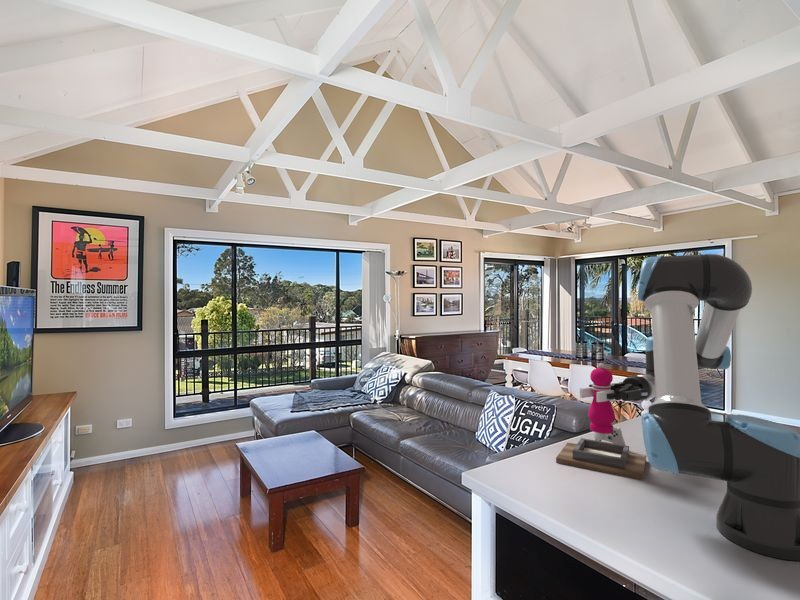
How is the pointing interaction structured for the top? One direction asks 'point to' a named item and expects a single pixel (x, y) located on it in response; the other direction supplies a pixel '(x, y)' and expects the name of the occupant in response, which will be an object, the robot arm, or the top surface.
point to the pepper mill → (601, 411)
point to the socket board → (603, 458)
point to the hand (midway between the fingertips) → (589, 395)
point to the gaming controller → (611, 436)
